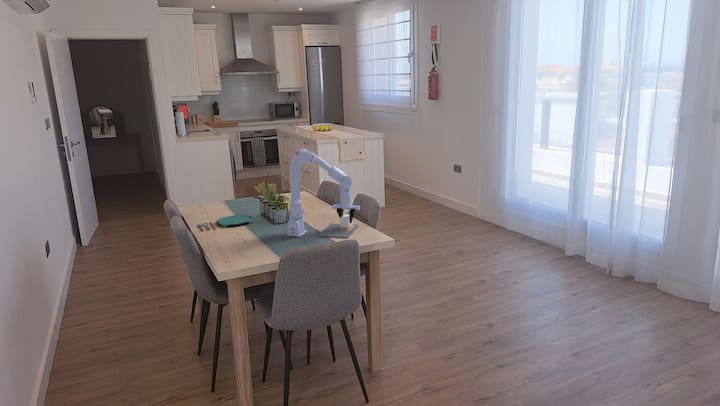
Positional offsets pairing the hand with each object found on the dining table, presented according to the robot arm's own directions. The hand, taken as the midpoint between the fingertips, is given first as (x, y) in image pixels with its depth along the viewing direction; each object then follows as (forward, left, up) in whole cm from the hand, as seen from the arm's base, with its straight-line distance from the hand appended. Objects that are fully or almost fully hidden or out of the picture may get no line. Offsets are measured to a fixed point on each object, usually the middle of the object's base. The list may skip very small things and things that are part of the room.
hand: (346, 222), depth 263 cm
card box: (0, 0, -2) cm, 2 cm away
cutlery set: (-3, +70, -4) cm, 71 cm away
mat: (-5, +3, -3) cm, 7 cm away
